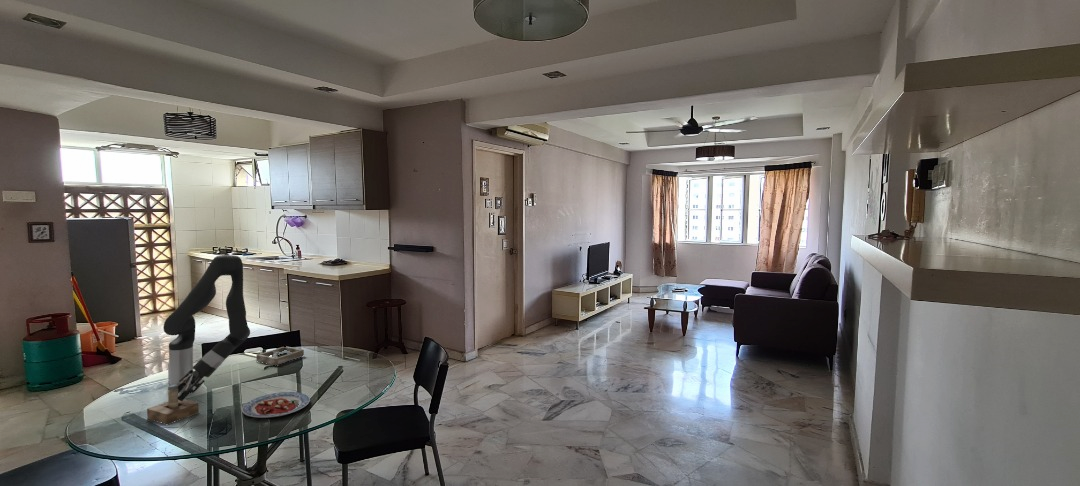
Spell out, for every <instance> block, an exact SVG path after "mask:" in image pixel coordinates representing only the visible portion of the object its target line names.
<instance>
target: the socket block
mask: <svg viewBox="0 0 1080 486" xmlns="http://www.w3.org/2000/svg"><path fill="white" fill-rule="evenodd" d="M199 404H200V403H199V402H196V401H193V400H189V399H186V398H185V399H184V400H183V401H180V400H178V407H175V408H172V409H169V408H168V401H165V402H163V403H160V404H157V405H154V406H152V407H148V408H147V409H146V413H147V414H146V418H147V420H149V419H151V420H150V421H153V420H155V421H154V422H156V421H158V422H157V423H159V422H162V423H161V424H163V423H165V424H164V425H166V424H168V425H170V424H169V423H171V424H173V423H175V422H174V421H176V422H178V421H180V420H179V419H181V420H183V419H182V418H184V419H185V417H186V418H188V416H189V417H191V416H194V415H196V414H199V412H200V411H199ZM177 420H178V421H177ZM172 422H173V423H172Z"/></svg>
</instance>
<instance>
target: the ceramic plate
mask: <svg viewBox="0 0 1080 486" xmlns="http://www.w3.org/2000/svg"><path fill="white" fill-rule="evenodd" d="M310 400H311V399H310V396H309V395H307V394H306V393H302V392H296V391H282V392H281V391H279V392H273V393H268V394H265V395H260V396H257V397H255V398H252V399H251V400H249V401H247V402H245V403H244V404H243V405H242V407H241V411H242V413H243V414H244V415H245V416H247V417H252V418H275V417H282V416H286V415H289V414H292V413H295V412H298V411H300V410H301V409H303V408H305V407H306V406H307V405H309V403H310ZM289 401H291V402H292V403H291V402H289ZM294 401H296V402H297V403H298V404H299V405H298V407H296V405H295V403H294ZM295 407H296V408H295ZM294 408H295V409H294Z"/></svg>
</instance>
